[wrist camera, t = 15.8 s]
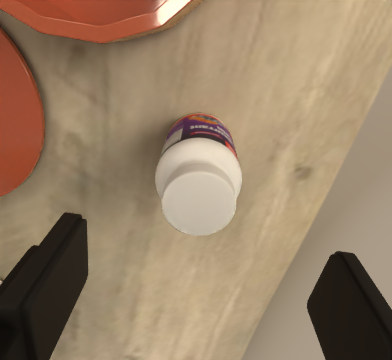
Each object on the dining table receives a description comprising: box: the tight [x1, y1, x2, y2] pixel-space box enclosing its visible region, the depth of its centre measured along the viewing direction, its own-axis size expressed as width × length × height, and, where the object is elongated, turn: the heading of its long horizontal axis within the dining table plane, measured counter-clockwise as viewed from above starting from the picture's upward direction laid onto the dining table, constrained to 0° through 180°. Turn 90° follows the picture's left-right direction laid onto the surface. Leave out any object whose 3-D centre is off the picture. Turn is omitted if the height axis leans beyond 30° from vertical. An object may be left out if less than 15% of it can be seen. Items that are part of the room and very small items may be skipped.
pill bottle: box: [155, 113, 242, 236], centre depth 19 cm, size 5×5×10 cm
